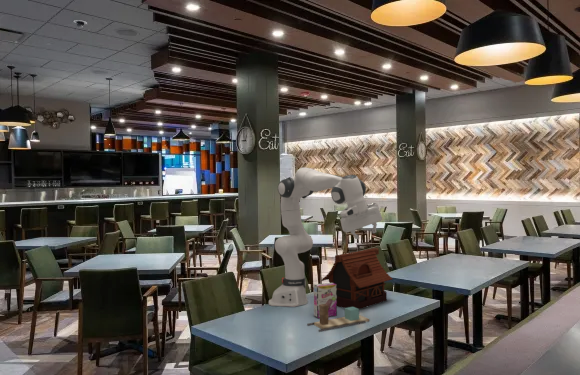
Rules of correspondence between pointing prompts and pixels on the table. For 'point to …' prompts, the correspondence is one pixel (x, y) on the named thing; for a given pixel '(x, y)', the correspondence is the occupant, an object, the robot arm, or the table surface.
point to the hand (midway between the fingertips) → (366, 235)
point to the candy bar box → (325, 298)
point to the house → (358, 279)
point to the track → (338, 326)
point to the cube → (351, 313)
